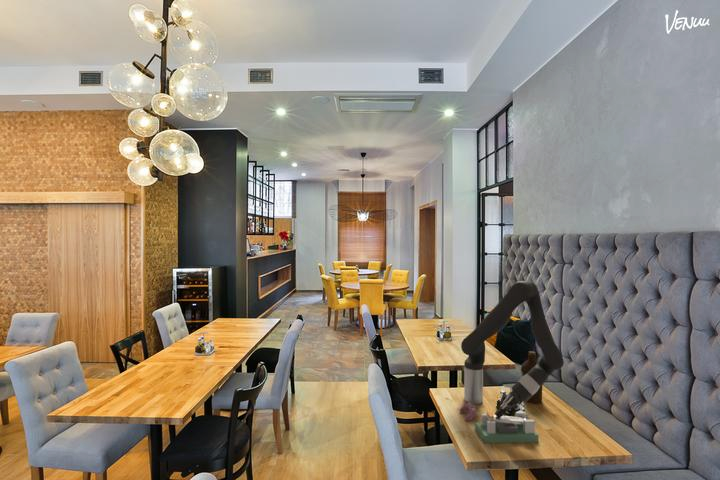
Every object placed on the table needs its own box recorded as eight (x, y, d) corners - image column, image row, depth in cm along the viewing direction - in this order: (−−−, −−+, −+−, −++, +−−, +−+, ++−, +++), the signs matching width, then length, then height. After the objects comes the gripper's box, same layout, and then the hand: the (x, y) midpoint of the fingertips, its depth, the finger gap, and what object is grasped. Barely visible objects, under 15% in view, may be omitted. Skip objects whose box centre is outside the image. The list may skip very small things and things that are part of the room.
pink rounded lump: (473, 424, 169) (480, 411, 169) (464, 420, 168) (471, 406, 169) (466, 414, 178) (473, 401, 178) (458, 410, 178) (464, 397, 178)
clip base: (475, 429, 162) (475, 411, 162) (525, 428, 163) (525, 410, 163) (484, 442, 151) (484, 423, 151) (538, 442, 152) (538, 422, 152)
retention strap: (485, 417, 159) (486, 411, 159) (523, 420, 159) (524, 414, 159) (490, 422, 154) (490, 416, 154) (529, 426, 155) (530, 420, 155)
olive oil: (544, 398, 193) (544, 351, 194) (541, 406, 185) (541, 356, 185) (523, 393, 200) (523, 347, 200) (518, 400, 191) (519, 352, 191)
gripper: (512, 375, 163) (484, 403, 163) (527, 387, 150) (497, 417, 150) (524, 387, 164) (496, 415, 163) (539, 400, 150) (509, 430, 150)
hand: (496, 416), depth 156 cm, fingers closed
